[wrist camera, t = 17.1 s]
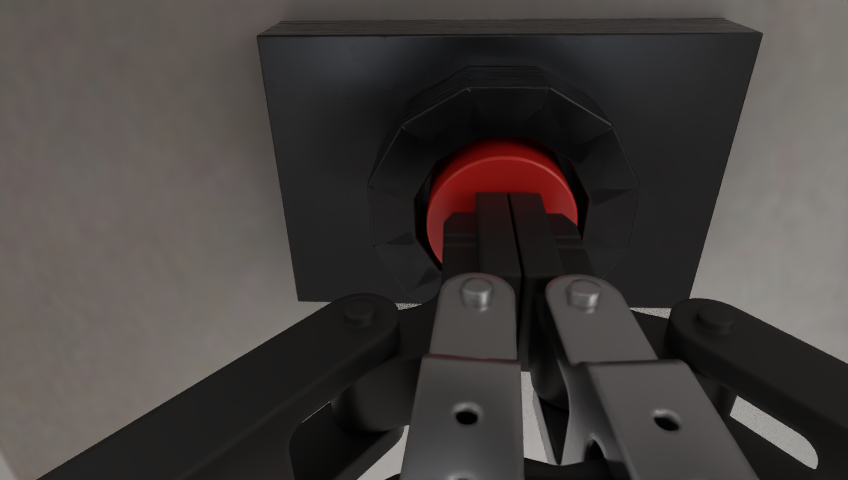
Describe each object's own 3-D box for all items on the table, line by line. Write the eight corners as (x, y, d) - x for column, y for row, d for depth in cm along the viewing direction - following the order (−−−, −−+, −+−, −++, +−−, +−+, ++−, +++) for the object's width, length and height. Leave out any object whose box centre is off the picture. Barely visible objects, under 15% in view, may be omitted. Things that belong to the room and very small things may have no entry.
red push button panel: (313, 264, 19) (282, 339, 16) (280, 20, 15) (229, 50, 12) (663, 269, 19) (710, 348, 15) (724, 18, 15) (806, 48, 11)
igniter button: (430, 247, 16) (427, 287, 14) (429, 126, 14) (425, 155, 12) (556, 248, 16) (569, 290, 14) (571, 126, 14) (588, 157, 12)
